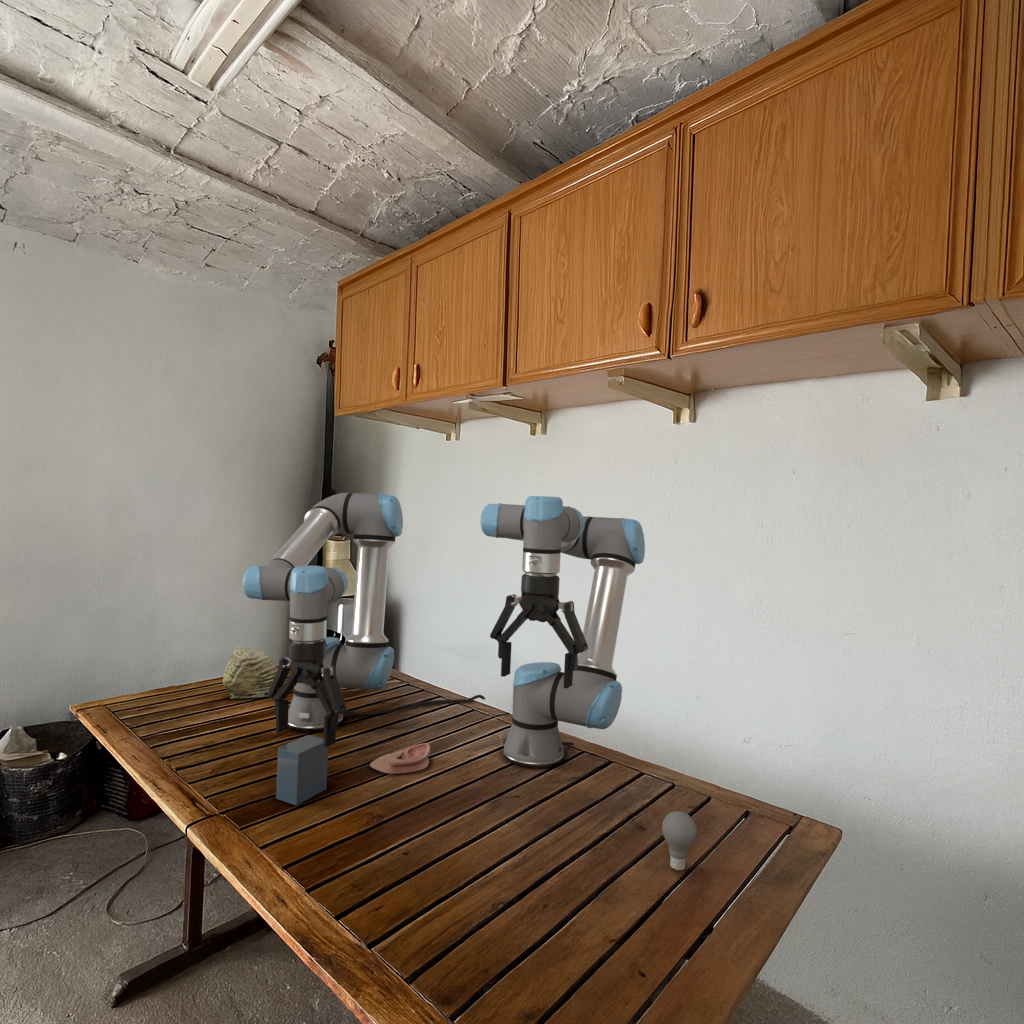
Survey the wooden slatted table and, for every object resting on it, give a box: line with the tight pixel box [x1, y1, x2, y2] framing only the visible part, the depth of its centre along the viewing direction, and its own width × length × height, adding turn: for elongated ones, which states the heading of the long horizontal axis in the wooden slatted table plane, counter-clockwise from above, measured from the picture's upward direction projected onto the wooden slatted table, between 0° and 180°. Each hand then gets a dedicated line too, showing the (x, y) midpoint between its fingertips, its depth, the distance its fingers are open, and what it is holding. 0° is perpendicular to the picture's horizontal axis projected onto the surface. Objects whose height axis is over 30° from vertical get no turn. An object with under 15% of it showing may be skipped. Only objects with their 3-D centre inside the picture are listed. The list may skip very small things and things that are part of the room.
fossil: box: [222, 646, 287, 699], centre depth 198 cm, size 9×18×15 cm, turn 132°
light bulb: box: [661, 810, 698, 871], centre depth 113 cm, size 6×6×10 cm
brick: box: [275, 734, 329, 807], centre depth 135 cm, size 9×6×11 cm, turn 153°
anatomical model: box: [369, 742, 431, 775], centre depth 151 cm, size 13×4×12 cm
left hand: (305, 738), depth 135 cm, fingers open, 13 cm apart
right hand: (535, 680), depth 126 cm, fingers open, 13 cm apart
